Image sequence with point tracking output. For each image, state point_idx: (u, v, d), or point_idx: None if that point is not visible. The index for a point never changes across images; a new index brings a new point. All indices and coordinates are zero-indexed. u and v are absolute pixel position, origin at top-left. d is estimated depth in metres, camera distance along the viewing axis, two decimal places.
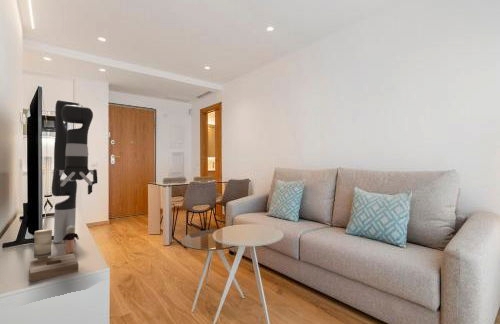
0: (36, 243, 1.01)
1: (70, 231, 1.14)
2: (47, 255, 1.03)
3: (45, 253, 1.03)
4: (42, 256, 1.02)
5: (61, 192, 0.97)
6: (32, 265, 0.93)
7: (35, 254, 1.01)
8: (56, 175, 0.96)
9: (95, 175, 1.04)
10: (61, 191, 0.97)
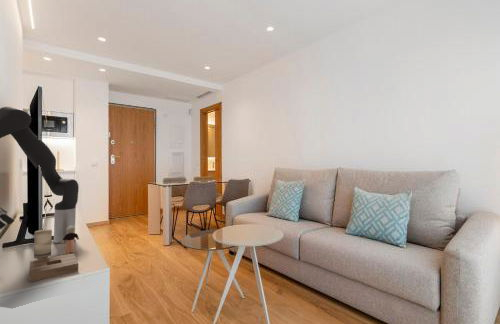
0: (36, 243, 1.01)
1: (70, 231, 1.14)
2: (47, 255, 1.03)
3: (45, 253, 1.03)
4: (42, 256, 1.02)
5: None
6: (32, 265, 0.93)
7: (35, 254, 1.01)
8: None
9: None
10: None
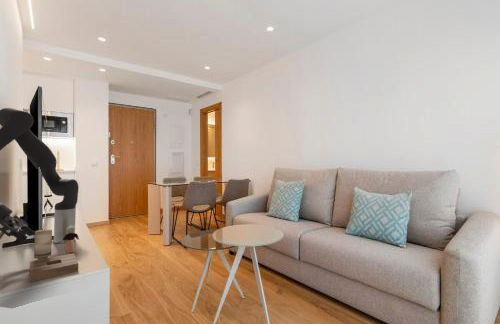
0: (36, 243, 1.01)
1: (70, 231, 1.14)
2: (47, 255, 1.03)
3: (45, 253, 1.03)
4: (42, 256, 1.02)
5: None
6: (32, 265, 0.93)
7: (35, 254, 1.01)
8: None
9: None
10: None
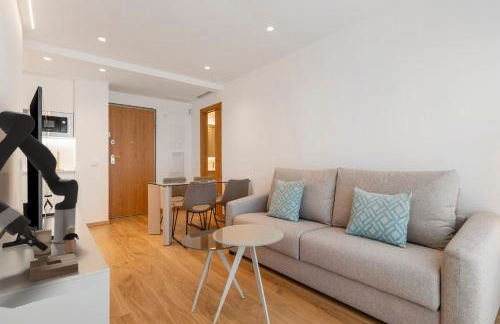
0: None
1: (70, 231, 1.14)
2: (47, 255, 1.03)
3: (45, 253, 1.03)
4: (42, 256, 1.02)
5: None
6: (32, 265, 0.93)
7: (35, 254, 1.01)
8: None
9: None
10: None
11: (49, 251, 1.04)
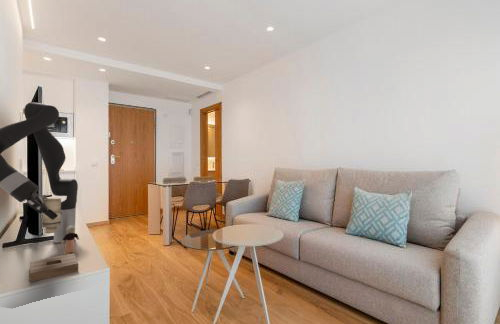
0: None
1: (70, 231, 1.14)
2: (56, 224, 0.96)
3: (54, 222, 0.96)
4: (51, 225, 0.95)
5: None
6: (32, 265, 0.93)
7: (43, 223, 0.94)
8: None
9: None
10: None
11: (58, 220, 0.97)
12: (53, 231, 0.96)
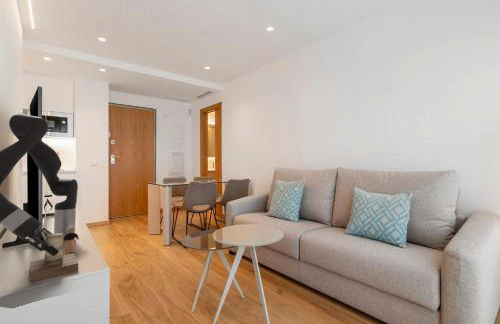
0: None
1: (70, 231, 1.14)
2: (58, 261, 0.95)
3: (57, 260, 0.95)
4: (53, 262, 0.94)
5: None
6: (32, 265, 0.93)
7: (46, 260, 0.94)
8: None
9: None
10: None
11: (60, 257, 0.96)
12: None
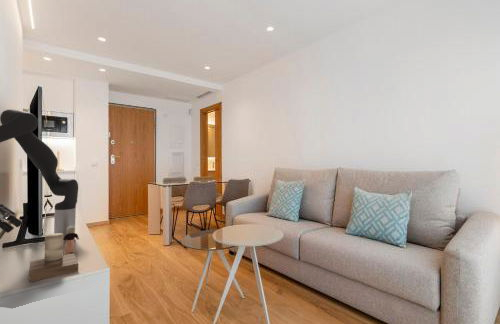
0: (47, 248, 0.94)
1: (70, 231, 1.14)
2: (58, 261, 0.95)
3: (57, 260, 0.95)
4: (53, 262, 0.94)
5: None
6: (32, 265, 0.93)
7: (46, 260, 0.94)
8: None
9: None
10: None
11: (60, 257, 0.96)
12: None
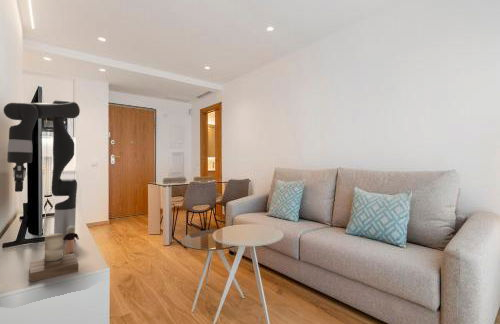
0: (47, 248, 0.94)
1: (70, 231, 1.14)
2: (58, 261, 0.95)
3: (57, 260, 0.95)
4: (53, 262, 0.94)
5: None
6: (32, 265, 0.93)
7: (46, 260, 0.94)
8: None
9: (14, 172, 0.96)
10: None
11: (60, 257, 0.96)
12: None
